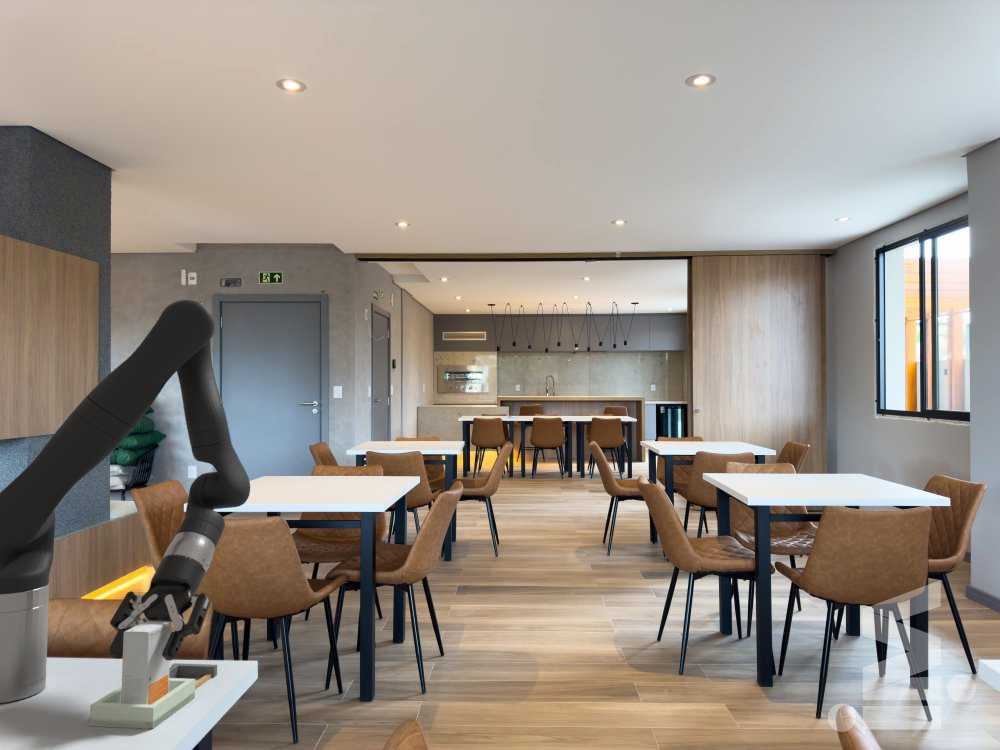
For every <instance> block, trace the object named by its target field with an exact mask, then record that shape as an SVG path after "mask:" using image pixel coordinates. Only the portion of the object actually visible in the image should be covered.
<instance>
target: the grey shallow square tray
mask: <svg viewBox="0 0 1000 750" xmlns="http://www.w3.org/2000/svg"><path fill="white" fill-rule="evenodd" d="M217 676H218V664H207V663H206V664H205V663H204V664H203V663H181V662H180V663H176V662H175V663H173V664H170V669H169V678H178V677H194V678H195V677H197V678H199V679H198V680H197V681H196V680H195V690H196V689H197V688H199V687H200V686H202V685H203V684H205V683H206V682H207V681H209V680H210V679H211V678H215V677H217Z"/></svg>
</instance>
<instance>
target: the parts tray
mask: <svg viewBox="0 0 1000 750" xmlns="http://www.w3.org/2000/svg"><path fill="white" fill-rule="evenodd" d="M195 682H196V678H181V677H179V678H178V677H176V678H169V693H168V694H166V695H165V696H163V697H162V698H160V699H159V700H157V701H156V702H154V703H153V704H151V705H148V704H125V703H121V690H122V685H121V686H120V687H118V688H116V689H115V690H113V691H112V692H109V693H107V695H105V696H102V697H101V698H99V699H98V700H97V701H95V702H93V703H91V704H90V706H89V708H90V709H89V726H90V727H105V728H107V727H109V728H126V729H128V728H129V729H131V728H132V729H148V730H149V729H151V730H153V729H154V728H156V727H158V726H159V725H160V724H161V722H162V723H163V722H164V721H165V719H166V720H167V719H168V718H170V717H171V716H173V714H175V713H176V712H178V711H180V710H181V709H182V708H183V707H184V706H186V705H187V704H188V703H190V702H191V701H193V700H194V699H195V698H196V697H195V696H196V689H195ZM169 716H170V717H169ZM158 724H159V725H158Z"/></svg>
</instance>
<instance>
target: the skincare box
mask: <svg viewBox="0 0 1000 750" xmlns="http://www.w3.org/2000/svg"><path fill="white" fill-rule="evenodd" d="M171 632H172V622H171V621H152V620H148V621H146V622H144V623H142V624H139V625H136V626H134V627H133V628H131V629H129V630H127V631H125V632H124V637H123V655H122V668H121V671H122V672H121V686H122V690H121V703H125V704H148V705H151V704H153V703H154V702H156V701H157V700H159V699H160V698H162V697H163V696H165V695H166V694H168V693H169V669H170V667H171V664H170V662H171V660H165V658H164V657H163V656H162V652H163V650H164V648H165V646H166V643H167V641H168V639H169V637H170V635H171Z"/></svg>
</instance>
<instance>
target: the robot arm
mask: <svg viewBox="0 0 1000 750" xmlns="http://www.w3.org/2000/svg"><path fill="white" fill-rule="evenodd" d="M215 327H216V323H215V318H214V316H213V314H212V312H211V310H210V309H209V308H208V307H207V306H206V305H204V304H203V303H202V302H199V301H197V300H193V299H180V300H176V301H174V302H172V303H170V304H169V305H167V306H165V308H164V309H163V311H162V312H161V314H160V316H159V317H158V319H157V321H156V322H155V323H154V325H153V326H152V328H151V329H150V331H148V333H147V335H146V336H145V338H143V340H142V341H141V343H139V345H138V347H137V348H136V349H135V350H134V351H133V352H132V353H131V355H129V356H128V357H127V358H126V359H125V360H124V361H122V363H120V364H119V365H118V366H117V367H116V368H115V369H113V371H111V372H110V373H109V374H108V375H107V376H106V377H104V378H103V379H102V380H100V382H99V383H98V384H97V385H96V386H95V387H94V388H93V389H92V390H91V391H89V393H88V394H87V395H86V397H85V398H83V399H82V400H81V402H80V403H79V404H78V405H77V406H76V408H74V410H73V411H72V412H71V413H70V415H69V416H68V417H67V418H66V419H65V420H64V422H63V423H62V424H61V425H60V427H59V428H58V429H56V431H55V433H54V434H53V435H52V436H51V438H50V439H49V440H48V441H47V443H46V444H45V445H44V447H43V448H42V449H41V451H40V452H39V454H38V455H36V457H35V458H34V460H32V462H31V463H30V464H29V465H28V466H27V467H25V469H24V470H23V471H21V473H20V474H19V475H18V476H17V477H16V478H14V479H13V480H12V481H11V482H10V483H9V484H8V485H7V486H6V487H5V488H4V489H2V490H1V491H0V704H2V703H10V702H15V701H19V700H22V699H26V698H29V697H31V696H34V695H37V694H38V693H40V692H42V691H43V690H44V689H45V688H46V687H47V661H48V659H47V657H48V632H49V631H48V627H49V626H48V624H49V596H50V595H49V594H50V592H49V591H50V590H49V589H50V573H51V568H52V565H53V561H54V551H55V550H54V548H55V537H56V535H55V533H56V532H55V531H56V511H55V510H56V508H57V506H59V504H60V503H61V502H62V500H63V499H64V498H65V496H66V495H67V494H68V493H69V491H70V490H71V489H72V488H73V487H74V486H75V485H76V484H77V483H78V482H79V481H80V480H81V479H82V478H84V477H85V476H86V475H87V474H88V473H90V472H91V471H93V470H94V468H96V467H97V466H98V465H99V464H101V463H102V462H103V461H104V460H105V459H106V458H107V457H108V456H109V455H110V454H111V453H113V451H115V449H117V448H118V446H120V444H121V443H122V442H123V441H124V440H125V438H126V437H128V435H129V434H130V433H131V432H132V431H133V429H135V427H136V426H137V425H138V423H140V421H141V419H142V418H143V417H144V416H145V414H146V413H147V412H148V410H149V409H150V407H151V406H152V405H153V403H154V402H155V401H156V399H157V398H158V396H159V394H160V393H161V392H162V390H163V389H164V387H165V385H166V384H167V382H169V380H170V379H171V378H172V377H173V376H174V375H175V373H176V375H177V378H178V382H179V386H180V391H181V392H180V393H181V397H182V405H183V412H184V418H185V419H184V420H185V424H186V430H187V434H188V435H187V436H188V439H189V445H190V449H191V453H192V456H193V459H194V460H196V461H197V462H200V463H205V464H210V465H212V466H213V467H214V469H215V470H216V471H209V472H204V473H202V474H200V475H198V476H197V477H196V478H195V479H194V480H193V482H192V483H191V485H190V488H189V490H188V491H189V492H188V498H187V502H186V503H187V504H186V509H185V515H184V519H183V521H182V523H181V525H180V526H179V529H178V530H177V532H176V535H175V536H174V538H173V540H172V541H171V542H170V543H169V545H168V547H167V548H166V551H164V555H163V557H162V558H161V561H160V562H159V564H158V567H156V568H157V569H156V570H155V573H154V574H153V576H152V578H151V581H150V585H149V589H148V590H147V591H146V592H145V593H144V594H143V595H142V594H141V595H140V594H136V593H135V592H134V591H131V590H130V591H128V592H127V593H126V594H125V596H124V598H123V599H122V601H121V603H120V605H119V606H118V607H117V609H116V611H115V613H114V614H113V616H112V618H111V620H110V621H109V624H110V626H111V627H112V628H113V629H114V630H115V631H116V634H115V637H114V638H113V640H112V642H111V644H110V646H109V653H110V655H111V656H112V657H113V658H114V659H121V658H123V637H124V632H125V631H127V630H129V629H131V628H133V627H134V626H136V625H139V624H142V623H144V622H146V621H148V620H152V621H171V623H172V625H173V628H174V631H171V635H170V637H169V639H168V641H167V643H166V646H165V648H164V650H163V652H162V656H163V657H164V658H165V660H170V661H172V660H173V658H174V657H176V656H177V655H178V654H179V652H180V648H181V647H182V644H183V642H184V640H185V639H186V638H187V637H188V636H190V635H194V636H197V635H198V634H200V633H201V631H202V628H203V624H204V622H205V619H206V617H207V614H208V611H209V608H210V605H211V601H210V599H209V598H208V596H207V595H206V594H205V593H204V592H202V593H199V594H198V591H199V589H200V588H201V585H202V584H203V583H202V582H203V581H204V578H205V576H206V573H207V572H208V569H209V567H210V565H211V562H212V560H213V557H214V553H215V550H216V548H217V546H218V544H219V541H220V539H221V536H222V534H223V532H224V530H225V519H224V517H223V516H222V515H221V514H220V513H219V512H217V511H215V510H222V509H229V508H231V509H232V508H237V507H241V506H243V505H244V504H245V503H246V502H247V501H248V499H249V498H250V493H251V482H250V478H249V475H248V473H247V471H246V470H245V468H244V465H243V464H242V462H241V460H240V458H239V456H238V454H237V452H236V450H235V448H234V446H233V443H232V438H231V434H230V429H229V428H230V427H229V425H228V423H229V422H228V419H227V414H226V411H225V408H224V405H223V401H222V398H221V394H220V392H219V387H218V385H217V384H218V383H217V381H216V377H215V372H214V368H213V361H212V345H211V340H212V338H213V335H214V334H215V329H216V328H215ZM197 594H198V595H197ZM191 607H192V611H191V613H190V616H189V619H188V622H186V619H185V616H184V614H185V612H187V611H188V610H189V609H190V608H191ZM142 615H144V617H143V618H141V616H142Z"/></svg>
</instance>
